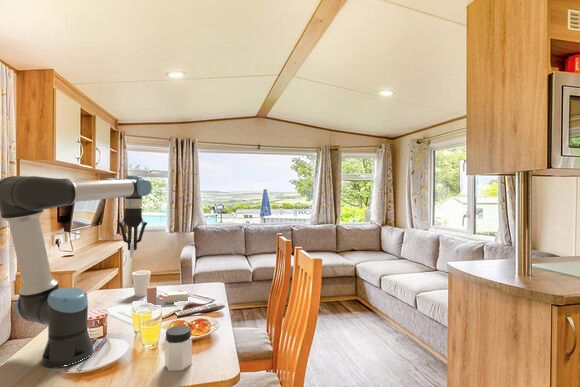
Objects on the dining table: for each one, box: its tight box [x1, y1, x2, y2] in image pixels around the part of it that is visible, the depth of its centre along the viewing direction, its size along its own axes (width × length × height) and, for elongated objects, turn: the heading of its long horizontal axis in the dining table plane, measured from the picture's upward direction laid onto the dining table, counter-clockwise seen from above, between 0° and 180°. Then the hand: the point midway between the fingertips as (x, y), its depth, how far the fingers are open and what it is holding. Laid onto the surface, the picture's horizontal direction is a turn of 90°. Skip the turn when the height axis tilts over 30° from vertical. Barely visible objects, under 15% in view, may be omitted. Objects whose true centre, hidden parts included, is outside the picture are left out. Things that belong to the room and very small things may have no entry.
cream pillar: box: [166, 291, 189, 303], centre depth 176 cm, size 4×4×10 cm
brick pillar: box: [146, 284, 158, 305], centre depth 167 cm, size 4×4×10 cm
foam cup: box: [131, 269, 152, 298], centre depth 185 cm, size 10×9×13 cm
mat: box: [157, 294, 191, 308], centre depth 175 cm, size 16×22×1 cm
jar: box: [164, 324, 193, 372], centre depth 114 cm, size 9×8×12 cm
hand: (132, 256), depth 161 cm, fingers closed
